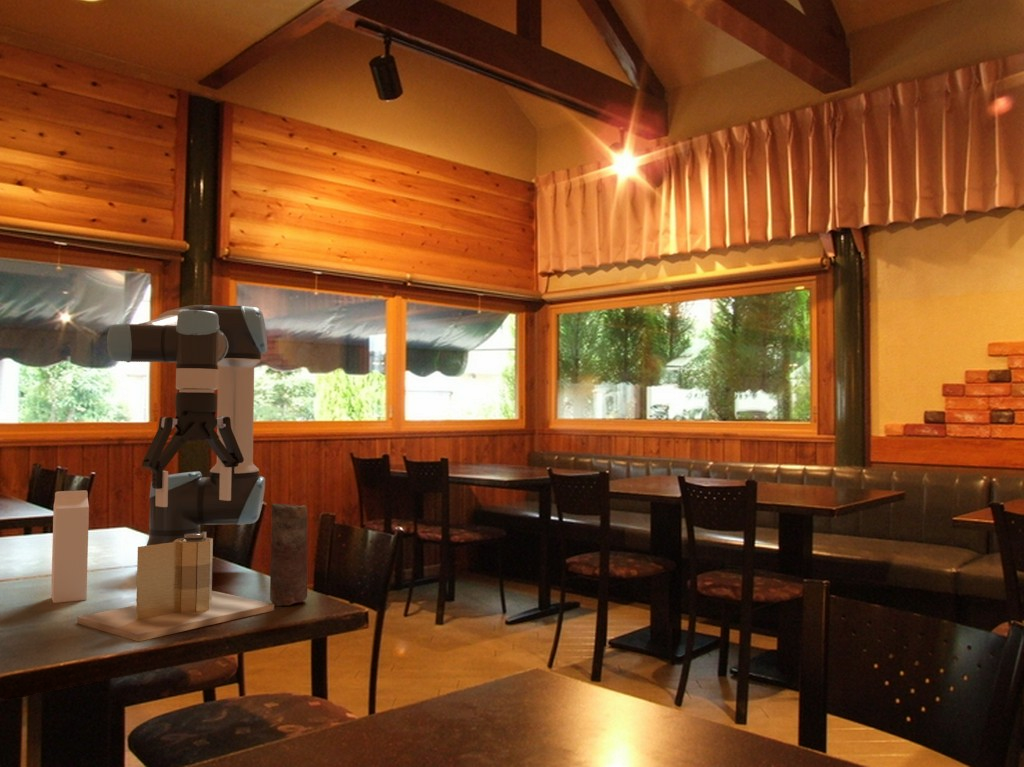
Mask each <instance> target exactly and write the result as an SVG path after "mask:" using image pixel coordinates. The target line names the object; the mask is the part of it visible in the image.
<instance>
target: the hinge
mask: <svg viewBox="0 0 1024 767" xmlns="http://www.w3.org/2000/svg"><path fill="white" fill-rule="evenodd" d="M201 533H204V534H205V538H204V539H203V541H197V542H185V539H184V538H181V539H176V540H174V542H171V543H163V544H156V545H148V546H146V545H142V546H137V560H136V561H137V562H136V566H137V568H136V620H143V619H148V618H153V617H157V616H162V615H167V614H172V613H197V612H202V611H207V610H209V609H210V608H211V602H212V591H213V589H212V588H213V587H212V586H213V548H214V547H213V546H214V541H213V540H214V538H213V537H207V531H202V532H201Z"/></svg>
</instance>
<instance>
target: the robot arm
mask: <svg viewBox="0 0 1024 767" xmlns="http://www.w3.org/2000/svg"><path fill="white" fill-rule="evenodd" d="M266 328H267V327H266V323H265V317H264V314H263V312H262V311H261V309H260V308H258V307H256V306H245V305H218V304H217V305H216V304H215V305H211V304H210V305H209V304H207V305H205V304H194V305H193V304H191V305H187V306H183V307H177V308H174V309H170V310H166V311H164V312H162V313H160V314H159V315H158V316H157V317H156V318H155V319H152V320H148V321H145V322H140V323H137V324H136V323H135V324H134V323H116V324H115V323H114V324H113V325H112V324H111V326H110V327H109V329H108V332H107V338H106V349H107V353H108V355H109V357H110V359H111V360H113V361H114V362H124V363H125V362H126V363H141V362H142V363H176V365H175V368H176V369H175V389H176V390H179V391H178V392H176V394H175V398H174V399H175V402H174V410H175V413H176V415H175V418H173V417H170V416H161V417H160V418H159V421H158V429H157V431H156V434H155V435H154V437H153V439H152V441H151V443H150V445H149V448H148V450H147V451H146V454H145V456H144V459H143V460H142V461H141V462H142V463H141V466H142V467H143V468H146V469H148V470H149V471H151V473H152V474H151V479H152V480H151V482H150V490H149V496H148V498H149V512H148V514H149V518H148V519H149V521H148V522H149V524H148V526H149V527H148V528H149V530H148V539H147V542H146V545H145V546H148V545H156V544H163V543H171V542H174V540H176V539H181V538H184V535H185V534H188V533H201V525H202V526H203V525H205V526H207V525H208V526H209V525H210V526H212V525H214V526H215V525H237V526H240V525H247V524H248V525H249V524H250V525H251V524H254V523H256V522H258V520H259V518H260V515H261V511H262V508H263V502H264V498H265V497H264V496H265V492H266V491H265V488H266V478H265V477H264V476H260V469H259V467H257V466H256V465H255V464H254V415H255V414H254V402H255V400H254V398H255V367H256V366H257V365H258V364H259V363H260V362H261V359H262V358H261V356H262V355H264V354H267V352H268V335H267V329H266ZM215 391H217V393H216V392H215ZM216 413H217V415H216ZM174 428H176V431H175V432H174V434H173V435H172V436H171V439H170V441H169V442H168V443H167V441H168V439H169V437H170V435H171V432H172V430H173V429H174ZM215 428H216V431H215ZM188 441H194V442H195V441H205V442H206V443H207V444H208V445H209V447H210V448H211V450H212V451H213V452H214V454H215V455H216V463H215V465H214V466H213V467H211V469H209V476H208V477H206V476H204V477H203V474H202V472H201V471H199V470H197V471H188V472H180V473H172V474H169V471H168V470H165V469H166V468H167V466H168V465H169V464H170V462H171V461H172V459H174V457H175V456H176V454H177V453H178V452H179V451H180V449H181V448H182V447H183V446H184V444H186V443H187V442H188ZM166 444H167V445H166Z"/></svg>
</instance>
